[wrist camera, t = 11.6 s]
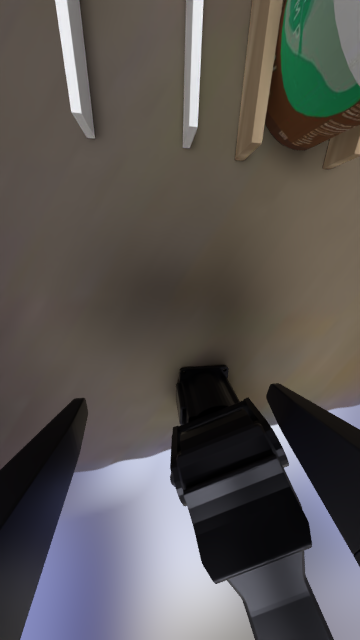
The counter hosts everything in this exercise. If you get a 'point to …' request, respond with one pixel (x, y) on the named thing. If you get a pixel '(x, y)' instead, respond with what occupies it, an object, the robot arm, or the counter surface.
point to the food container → (315, 72)
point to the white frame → (78, 72)
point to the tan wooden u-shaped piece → (258, 87)
